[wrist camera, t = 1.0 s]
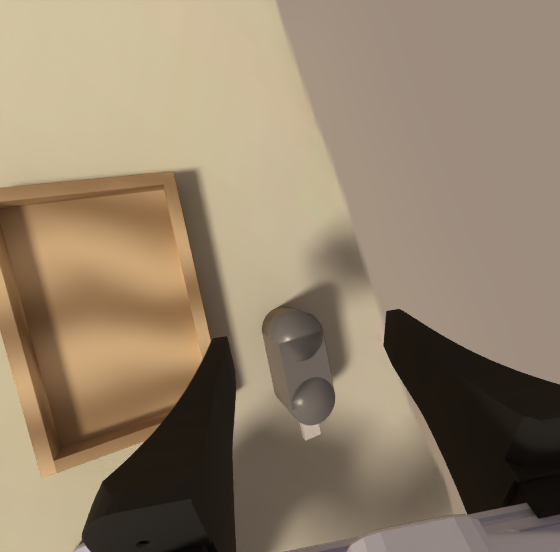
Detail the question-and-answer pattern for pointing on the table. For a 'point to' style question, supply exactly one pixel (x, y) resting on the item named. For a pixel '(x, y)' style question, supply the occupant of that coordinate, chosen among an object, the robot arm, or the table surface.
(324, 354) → the grey rounded long block
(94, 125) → the table surface
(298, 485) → the table surface
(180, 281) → the oak tray
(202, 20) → the table surface
